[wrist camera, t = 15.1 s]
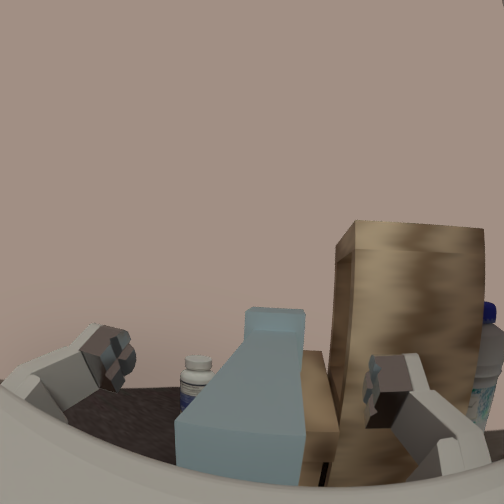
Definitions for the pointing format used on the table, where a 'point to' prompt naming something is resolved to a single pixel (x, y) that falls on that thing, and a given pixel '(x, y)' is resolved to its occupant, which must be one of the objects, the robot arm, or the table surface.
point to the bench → (317, 418)
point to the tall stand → (401, 330)
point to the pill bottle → (194, 378)
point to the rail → (251, 406)
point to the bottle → (486, 368)
